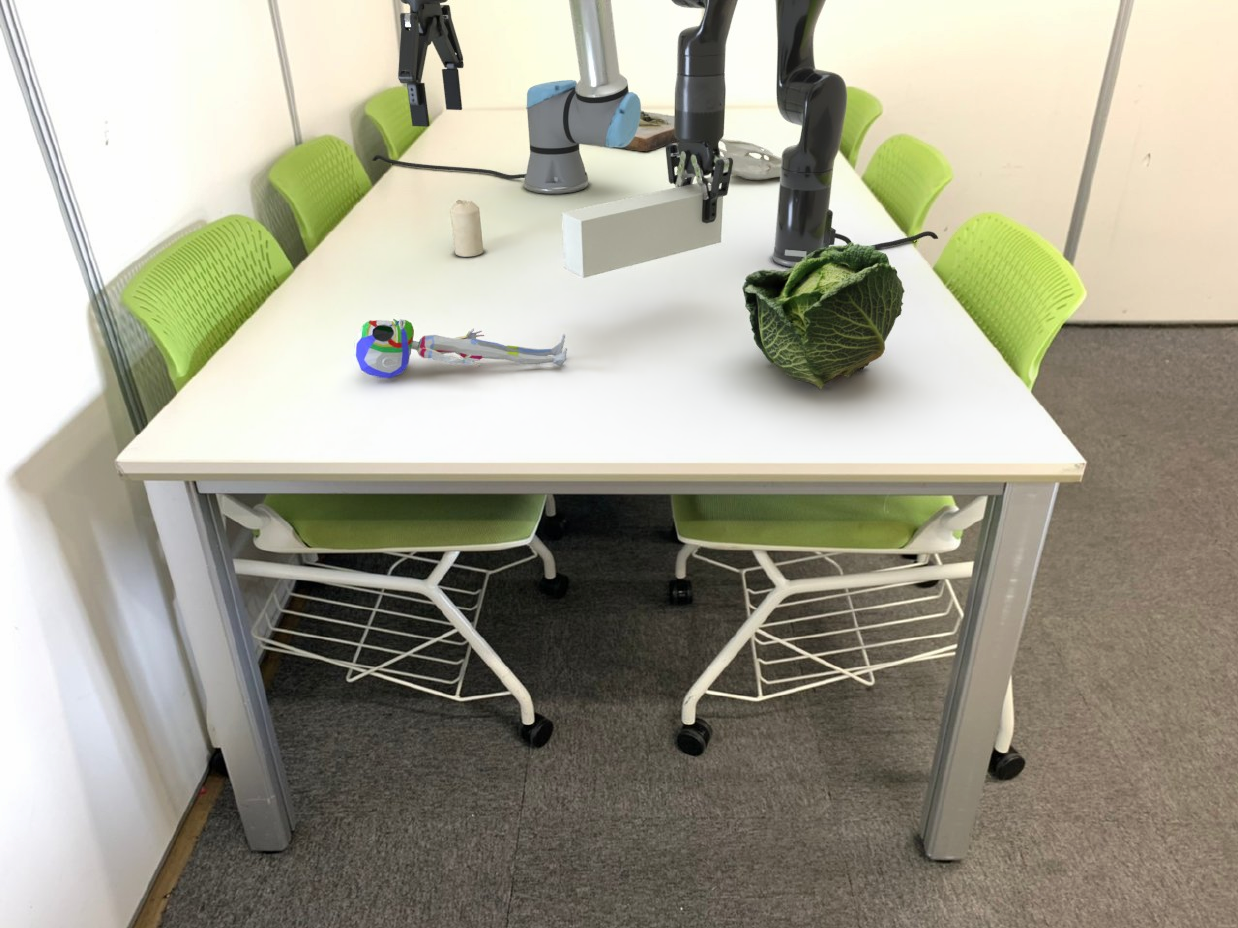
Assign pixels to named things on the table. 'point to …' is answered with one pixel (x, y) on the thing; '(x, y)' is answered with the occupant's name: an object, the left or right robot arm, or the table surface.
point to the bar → (637, 230)
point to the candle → (466, 228)
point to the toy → (435, 349)
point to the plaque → (653, 132)
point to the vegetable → (825, 311)
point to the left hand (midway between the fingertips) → (438, 117)
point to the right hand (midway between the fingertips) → (696, 217)
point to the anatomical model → (751, 160)
